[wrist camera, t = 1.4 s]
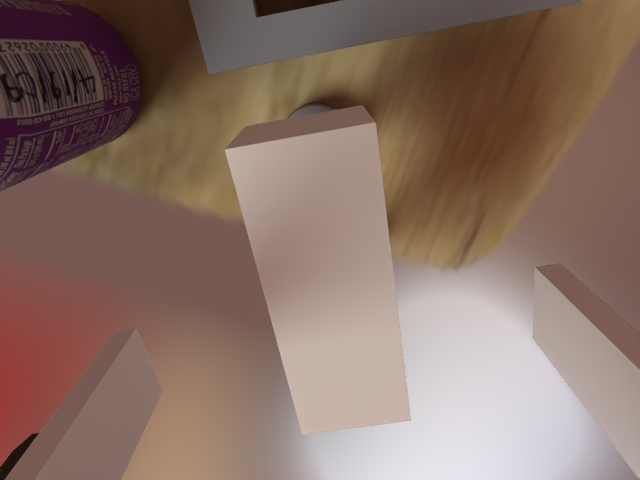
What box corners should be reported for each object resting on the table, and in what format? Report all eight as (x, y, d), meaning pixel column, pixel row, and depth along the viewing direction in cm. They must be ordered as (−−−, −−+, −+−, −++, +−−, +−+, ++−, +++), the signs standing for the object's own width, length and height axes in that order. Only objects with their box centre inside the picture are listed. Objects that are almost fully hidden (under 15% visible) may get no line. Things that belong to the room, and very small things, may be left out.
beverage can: (38, -30, 21) (-272, -115, 10) (168, 59, 22) (28, 70, 12) (-6, 95, 23) (-294, 138, 12) (115, 166, 25) (-42, 259, 14)
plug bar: (268, 101, 23) (224, 149, 12) (348, 86, 23) (375, 122, 12) (308, 285, 28) (302, 434, 17) (374, 275, 28) (411, 420, 17)
